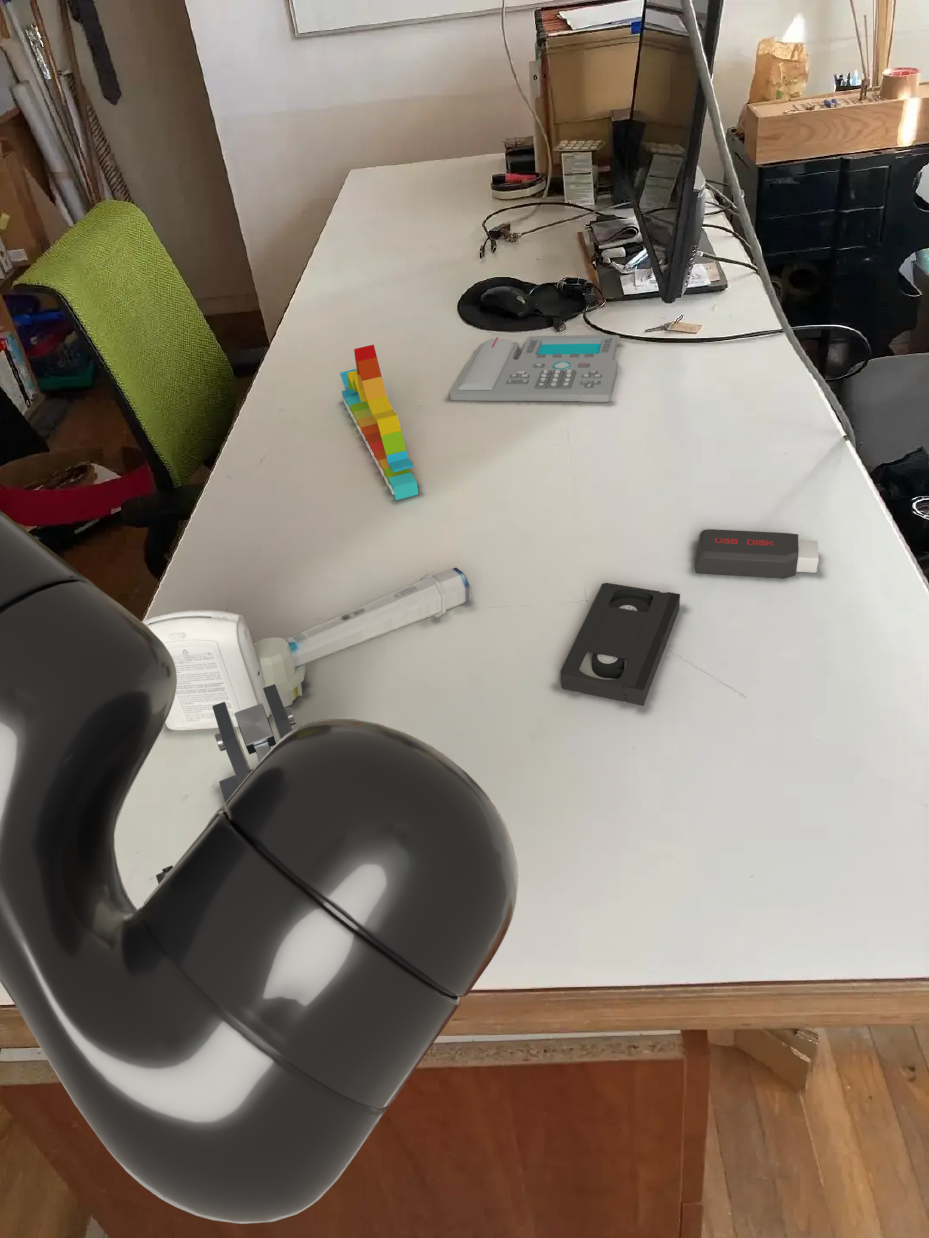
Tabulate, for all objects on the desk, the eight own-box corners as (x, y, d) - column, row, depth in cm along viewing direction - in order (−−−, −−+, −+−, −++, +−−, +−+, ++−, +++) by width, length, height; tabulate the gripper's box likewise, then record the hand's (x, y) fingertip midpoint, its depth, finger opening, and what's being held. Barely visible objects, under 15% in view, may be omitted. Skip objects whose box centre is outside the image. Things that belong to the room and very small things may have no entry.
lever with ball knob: (327, 867, 69) (325, 859, 66) (286, 884, 68) (282, 877, 65) (272, 712, 73) (268, 698, 71) (232, 726, 73) (226, 713, 70)
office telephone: (447, 385, 133) (479, 328, 148) (449, 402, 135) (481, 344, 150) (609, 385, 127) (626, 326, 142) (609, 403, 129) (626, 342, 144)
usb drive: (698, 544, 102) (699, 523, 100) (814, 550, 98) (818, 529, 97) (695, 573, 98) (696, 551, 96) (816, 580, 95) (820, 558, 93)
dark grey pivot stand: (360, 851, 75) (328, 742, 67) (252, 895, 73) (205, 788, 65) (320, 753, 84) (287, 646, 76) (222, 789, 81) (178, 684, 73)
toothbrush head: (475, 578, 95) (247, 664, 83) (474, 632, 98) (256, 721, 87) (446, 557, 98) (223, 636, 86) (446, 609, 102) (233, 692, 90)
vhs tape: (603, 597, 96) (603, 581, 95) (679, 609, 94) (680, 594, 92) (560, 688, 87) (559, 673, 85) (643, 705, 84) (643, 689, 82)
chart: (342, 403, 138) (321, 304, 129) (363, 398, 139) (344, 299, 129) (394, 501, 115) (373, 389, 106) (418, 494, 116) (400, 383, 106)
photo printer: (277, 695, 90) (244, 595, 82) (270, 727, 87) (235, 626, 79) (174, 704, 91) (131, 605, 83) (163, 736, 87) (118, 636, 80)
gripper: (414, 722, 39) (372, 734, 56) (94, 842, 36) (152, 817, 52) (477, 893, 38) (415, 854, 55) (157, 1031, 35) (195, 944, 52)
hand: (286, 836), depth 54 cm, fingers closed
